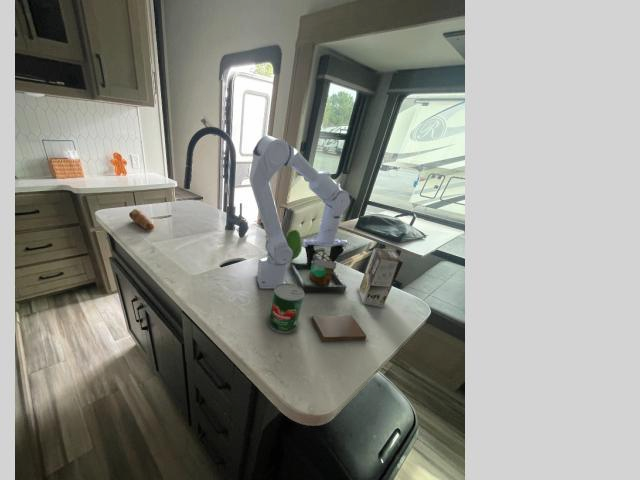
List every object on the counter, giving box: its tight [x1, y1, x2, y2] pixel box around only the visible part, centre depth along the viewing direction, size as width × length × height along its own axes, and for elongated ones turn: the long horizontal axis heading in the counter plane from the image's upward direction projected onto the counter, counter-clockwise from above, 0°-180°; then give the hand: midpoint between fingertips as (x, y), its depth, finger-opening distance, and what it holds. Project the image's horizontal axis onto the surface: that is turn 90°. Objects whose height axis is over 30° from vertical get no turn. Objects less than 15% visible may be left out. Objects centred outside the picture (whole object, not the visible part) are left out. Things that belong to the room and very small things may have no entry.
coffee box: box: [358, 247, 404, 308], centre depth 85 cm, size 9×6×16 cm
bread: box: [128, 208, 155, 232], centre depth 129 cm, size 6×19×6 cm, turn 36°
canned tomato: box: [268, 282, 305, 334], centre depth 72 cm, size 8×8×11 cm
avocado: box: [284, 228, 303, 260], centre depth 107 cm, size 8×8×12 cm
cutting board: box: [311, 314, 367, 342], centre depth 74 cm, size 12×9×2 cm
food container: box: [309, 247, 337, 285], centre depth 94 cm, size 12×6×10 cm, turn 5°
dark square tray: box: [289, 262, 347, 294], centre depth 96 cm, size 15×17×2 cm
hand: (319, 265), depth 94 cm, fingers open, 7 cm apart
